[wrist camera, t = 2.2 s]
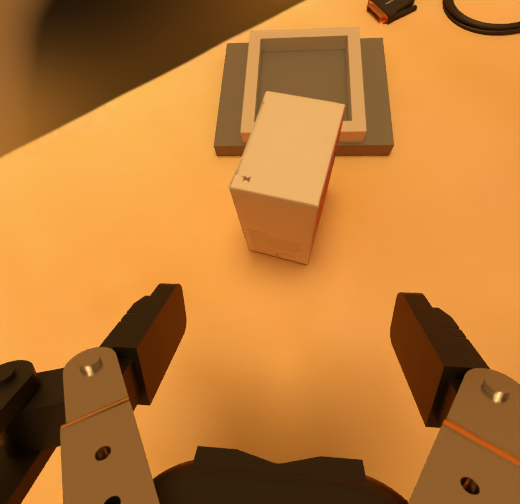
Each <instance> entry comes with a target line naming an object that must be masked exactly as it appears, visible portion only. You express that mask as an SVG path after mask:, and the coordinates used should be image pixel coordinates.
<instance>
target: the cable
mask: <svg viewBox="0 0 520 504" xmlns="http://www.w3.org/2000/svg"><path fill="white" fill-rule="evenodd" d="M414 1H415V0H369V1H368V5H367V11H368V10H370V11H371V12H372V13H373V14H374V15H375V16H376V17H378V19H380V21H379V23H380V22H383V23H386V24H390V23H391V22H393V21H394V20H397V19H399V18H401V17H403V16H405V15H407V14H409V13H411V12H413V11H415V10H416V9H417V6H416V5H414V6H413V3H414ZM443 9H444V12H445V14H446V15H447V17H448V18H449V19H450V20H451V21H452V22H453V23H454V24H456V25H457V26H459V27H461V28H463V29H465V30H468V31H471V32H474V33H479V34H486V35H504V34H512V33H517V32H520V22H516V23H510V24H491V23H484V22H480V21H477V20H474V19H471V18H469V17H467V16H465V15H464V14H463V13H461V12H460V11H459V10H458V9H457V7H456V6H455V4H454V2H453V0H443Z"/></svg>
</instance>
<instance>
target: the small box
mask: <svg viewBox="0 0 520 504" xmlns="http://www.w3.org/2000/svg"><path fill="white" fill-rule="evenodd" d="M345 110H346V105H345V104H340V103H335V102H330V101H324V100H318V99H312V98H306V97H300V96H294V95H288V94H283V93H277V92H270V91H266V92H265V94H264V98H263V101H262V104H261V107H260V110H259V113H258V115H257V118H256V121H255V123H254V126H253V129H252V131H251V134H250V137H249V139H248V142H247V145H246V147H245V150H244V152H243V155H242V158H241V160H240V163H239V165H238V167H237V170H236V172H235V174H234V176H233V178H232V181H231V183H230V185H229V189H230V192H231V195H232V198H233V202H234V205H235V208H236V211H237V214H238V217H239V221H240V224H241V227H242V230H243V233H244V236H245V239H246V242H247V245H248V248H249V250H253V251H257V252H261V253H265V254H268V255H272V256H276V257H280V258H284V259H288V260H291V261H295V262H299V263H303V264H308V263H309V258H310V254H311V250H312V246H313V242H314V239H315V235H316V231H317V227H318V223H319V219H320V216H321V212H322V208H323V204H324V201H325V197H326V193H327V188H328V184H329V180H330V175H331V171H332V167H333V163H334V159H335V155H336V150H337V146H338V141H339V137H340V132H341V128H342V123H343V119H344V114H345Z"/></svg>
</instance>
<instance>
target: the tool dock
mask: <svg viewBox="0 0 520 504" xmlns="http://www.w3.org/2000/svg"><path fill="white" fill-rule="evenodd" d="M266 91H270V92H277V93H283V94H288V95H294V96H300V97H306V98H312V99H318V100H324V101H330V102H335V103H340V104H345V105H346V110H345V114H344V119H343V123H342V128H341V132H340V137H339V141H338V146H337V150H336V155H389V154H390V152H391V150H392V148H393V146H394V141H393V132H392V122H391V113H390V103H389V94H388V84H387V75H386V65H385V56H384V46H383V38H365V39H360V32H359V27H341V28H316V29H291V30H266V31H250V37H249V43H228V44H227V48H226V56H225V63H224V71H223V79H222V87H221V94H220V102H219V110H218V118H217V126H216V133H215V141H214V148H215V151H216V154H217V156H242V155H243V152H244V150H245V147H246V145H247V142H248V139H249V137H250V134H251V131H252V129H253V126H254V123H255V121H256V118H257V115H258V113H259V110H260V107H261V104H262V101H263V98H264V94H265V92H266Z"/></svg>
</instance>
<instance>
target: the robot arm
mask: <svg viewBox="0 0 520 504" xmlns="http://www.w3.org/2000/svg"><path fill="white" fill-rule="evenodd" d="M185 329H186V312H185V305H184V298H183V291H182V287H181V285H180V284H163V283H161V284H159V285H158V286H157V287H156V289H155V290H154V292H153V293H152V294H151V296H144V297H143V298H141V299H140V300H138V301H137V302H135V303H134V304H133V305H132V306H131V308H130V309H129V310H128V311H127V314H125V315H124V316H123V318H122V319H121V322H119V323H118V324H117V325H116V326H115V328H114V329H113V330H112V331H111V333H110V334H109V335H108V336H107V338H106V339H105V340H104V341H103V343H102V344H101V345H100V346H99V347H96V348H91V349H88V350H85V351H83V352H81V353H79V354H77V355H76V356H74V357H73V358H72V359H71V360H70V361H69V362H68V363H67V364H66V365H65V367H64V368H61V369H56V370H50V371H45V372H39V373H36V371H35V369H34V366H33V364H32V363H31V362H29V361H26V360H17V361H11V362H7V363H4V364H2V365H0V504H21V503H22V501H23V499H24V498H25V496H26V495H27V493H28V491H29V490H30V488H31V487H32V485H33V484H34V482H35V480H36V479H37V477H38V476H39V474H40V472H41V471H42V469H43V468H44V466H45V464H46V463H47V461H48V460H49V458H50V457H51V455H52V453H53V452H54V450H55V449H56V447H57V446H61V463H62V485H63V504H520V384H518V383H517V382H516V381H514V380H513V379H512V378H510V377H508V376H506V375H504V374H502V373H500V372H497V371H494V370H491V369H490V368H489V367H488V366H487V364H486V363H485V362H484V360H483V359H482V357H481V356H480V355H479V353H478V352H477V351H476V349H475V348H474V347H473V345H472V344H471V343H470V341H469V340H468V339H466V336H465V335H464V333H463V332H462V331H461V330H459V327H458V325H457V324H456V323H455V321H454V320H453V319H452V317H451V316H449V315H448V314H446V313H445V312H444V311H442V310H441V309H439V308H432V306H431V305H430V303H429V302H428V300H427V299H426V297H425V296H424V295H423V294H422V293H403V292H400V293H398V295H397V298H396V302H395V307H394V312H393V318H392V323H391V328H390V337H391V343H392V346H393V348H394V351H395V353H396V356H397V358H398V361H399V363H400V365H401V368H402V370H403V373H404V375H405V378H406V380H407V382H408V385H409V387H410V390H411V392H412V395H413V397H414V399H415V402H416V404H417V407H418V409H419V412H420V414H421V416H422V419H423V421H424V424H425V426H426V427H437V428H440V431H439V433H438V435H437V438H436V440H435V442H434V445H433V447H432V449H431V452H430V454H429V456H428V458H427V461H426V463H425V465H424V468H423V470H422V472H421V475H420V477H419V479H418V482H417V484H416V486H415V489H414V491H413V493H412V495H411V498H410V500H409V502H408V501H407V500H406V499H405V498H403V497H402V496H401V495H400V494H398V493H397V492H396V491H394V490H393V489H392V488H390V487H388V486H387V485H385V484H383V483H382V482H380V481H378V480H376V479H374V478H372V477H369V476H366V475H365V471H364V466H363V461H362V460H357V459H345V458H333V457H321V456H320V457H315V458H309V459H304V460H299V461H293V462H288V463H282V464H276V463H272V462H270V461H267V460H264V459H262V458H259V457H256V456H253V455H251V454H248V453H245V452H242V451H240V450H237V449H226V448H214V447H202V446H198V447H197V451H196V454H195V458H194V460H192V461H188V462H184V463H181V464H178V465H176V466H174V467H172V468H169V469H168V470H166V471H164V472H162V473H161V474H159V475H158V476H156V477H155V478H154V479H152V476H151V472H150V469H149V465H148V462H147V458H146V455H145V451H144V448H143V444H142V441H141V438H140V434H139V431H138V427H137V424H136V420H135V417H134V413H133V411H134V409H135V408H136V406H137V405H150V404H151V402H152V400H153V398H154V396H155V394H156V392H157V390H158V387H159V385H160V383H161V381H162V379H163V377H164V375H165V373H166V371H167V369H168V366H169V364H170V362H171V360H172V358H173V356H174V354H175V352H176V350H177V348H178V345H179V343H180V341H181V339H182V337H183V335H184V332H185Z"/></svg>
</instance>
